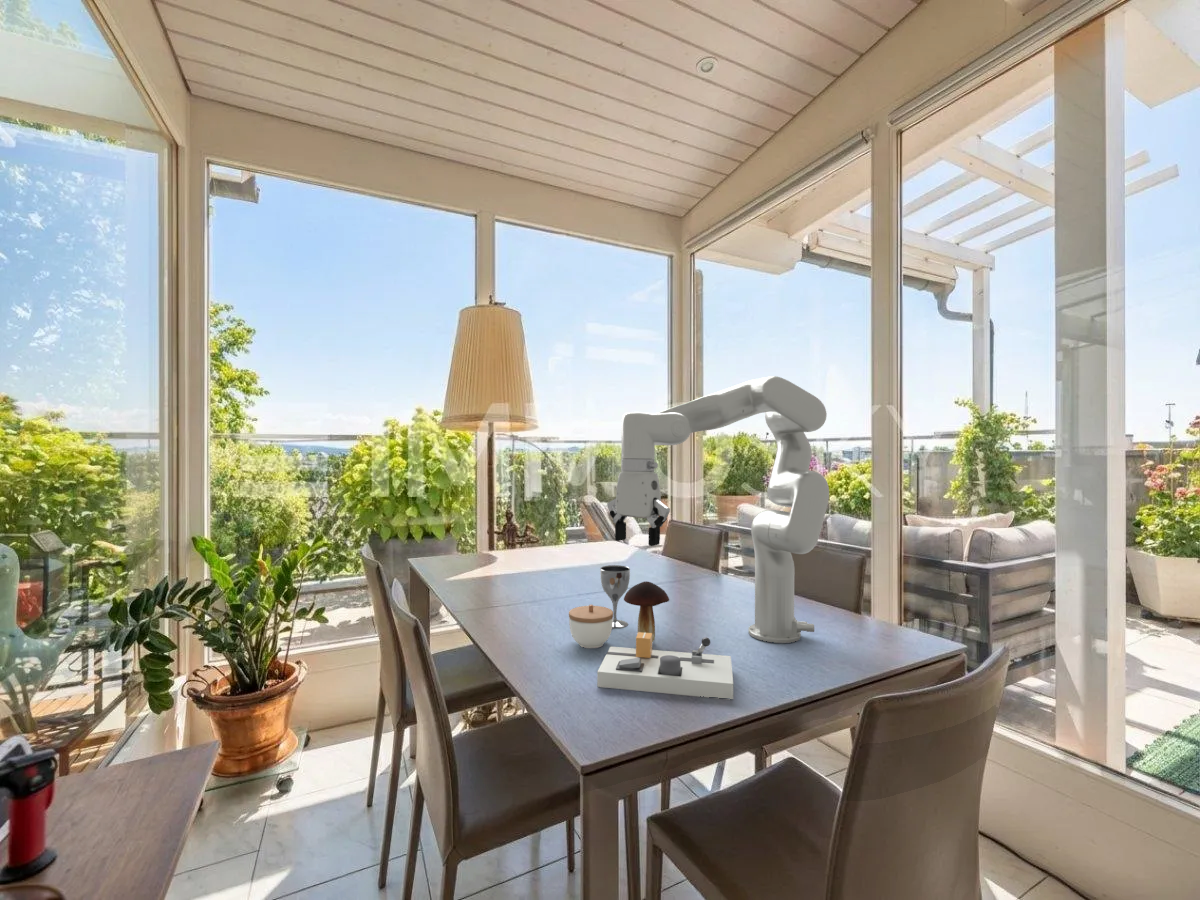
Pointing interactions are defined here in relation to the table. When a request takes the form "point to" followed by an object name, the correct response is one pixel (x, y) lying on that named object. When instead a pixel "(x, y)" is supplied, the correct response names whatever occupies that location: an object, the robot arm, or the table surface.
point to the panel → (644, 675)
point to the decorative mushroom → (646, 604)
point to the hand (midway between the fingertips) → (636, 542)
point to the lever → (703, 646)
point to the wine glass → (615, 587)
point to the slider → (644, 645)
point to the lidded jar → (590, 625)
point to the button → (670, 665)
